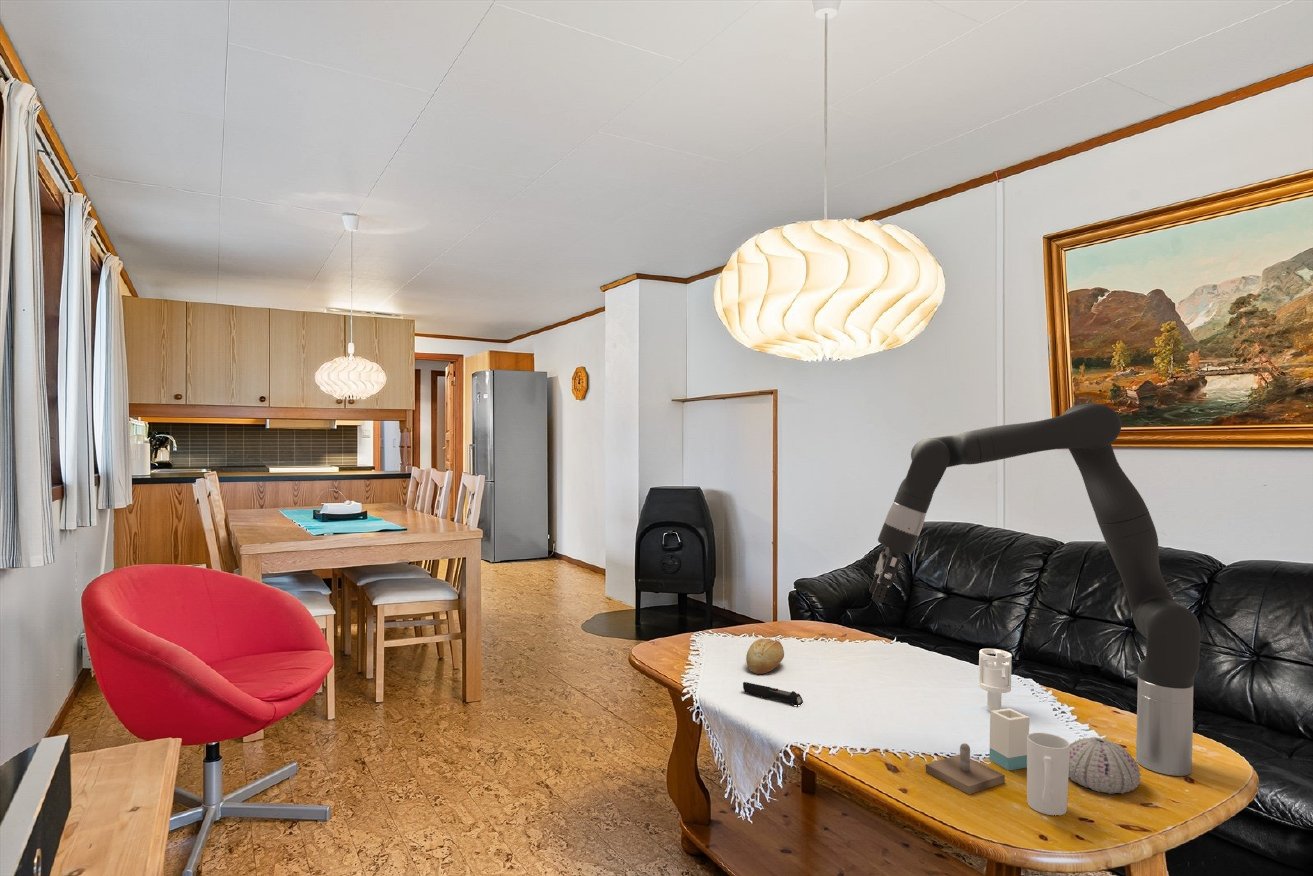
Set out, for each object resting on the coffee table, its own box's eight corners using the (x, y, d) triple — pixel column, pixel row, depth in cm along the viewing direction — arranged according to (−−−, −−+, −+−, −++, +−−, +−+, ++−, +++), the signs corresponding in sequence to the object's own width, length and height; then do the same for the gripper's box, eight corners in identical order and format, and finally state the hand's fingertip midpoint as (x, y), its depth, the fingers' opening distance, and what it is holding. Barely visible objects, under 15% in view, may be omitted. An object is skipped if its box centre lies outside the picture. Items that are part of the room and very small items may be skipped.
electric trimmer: (747, 691, 191) (747, 679, 191) (804, 704, 182) (804, 691, 182) (740, 695, 188) (740, 683, 187) (797, 708, 179) (797, 695, 179)
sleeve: (1009, 756, 153) (1009, 708, 153) (1028, 767, 149) (1029, 717, 148) (989, 759, 152) (990, 710, 152) (1008, 770, 147) (1009, 720, 147)
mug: (1026, 794, 138) (1027, 729, 137) (1068, 803, 135) (1069, 737, 134) (1024, 819, 129) (1025, 750, 129) (1068, 829, 126) (1070, 759, 125)
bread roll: (789, 663, 213) (790, 635, 212) (774, 679, 199) (775, 649, 199) (757, 658, 217) (757, 630, 217) (740, 673, 203) (740, 644, 203)
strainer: (982, 715, 175) (983, 651, 175) (974, 704, 182) (975, 643, 182) (1014, 717, 174) (1015, 653, 174) (1005, 706, 181) (1006, 644, 181)
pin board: (960, 761, 151) (961, 729, 151) (1004, 782, 142) (1005, 748, 142) (925, 772, 146) (926, 739, 146) (968, 794, 137) (969, 759, 137)
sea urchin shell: (1156, 789, 140) (1157, 747, 140) (1113, 806, 134) (1114, 761, 134) (1087, 761, 152) (1088, 722, 152) (1044, 775, 146) (1045, 734, 146)
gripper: (923, 538, 152) (895, 612, 153) (915, 530, 165) (889, 597, 167) (887, 524, 153) (859, 597, 154) (882, 517, 167) (856, 584, 168)
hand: (874, 597), depth 160 cm, fingers open, 8 cm apart
